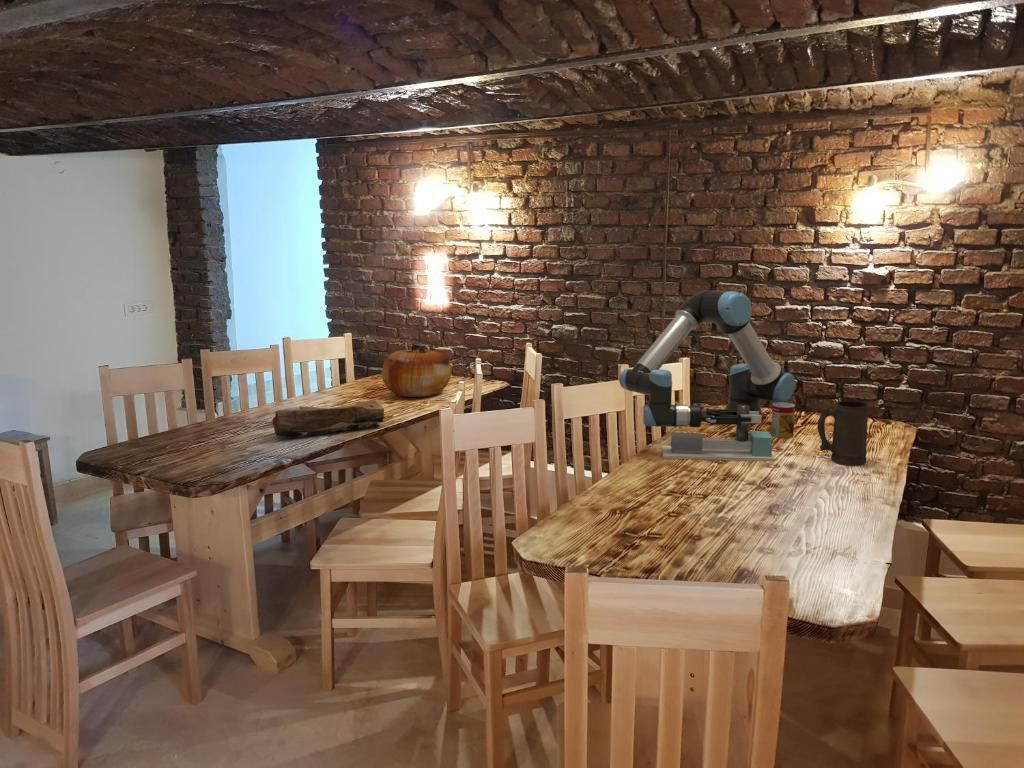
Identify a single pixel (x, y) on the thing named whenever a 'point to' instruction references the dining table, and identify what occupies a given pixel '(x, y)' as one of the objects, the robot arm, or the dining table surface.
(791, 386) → the robot arm
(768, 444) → the socket
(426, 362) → the pumpkin
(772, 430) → the canned food
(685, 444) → the sleeve
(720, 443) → the grey black upright frame
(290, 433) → the log
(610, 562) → the dining table surface
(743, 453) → the baseboard
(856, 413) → the beer stein
